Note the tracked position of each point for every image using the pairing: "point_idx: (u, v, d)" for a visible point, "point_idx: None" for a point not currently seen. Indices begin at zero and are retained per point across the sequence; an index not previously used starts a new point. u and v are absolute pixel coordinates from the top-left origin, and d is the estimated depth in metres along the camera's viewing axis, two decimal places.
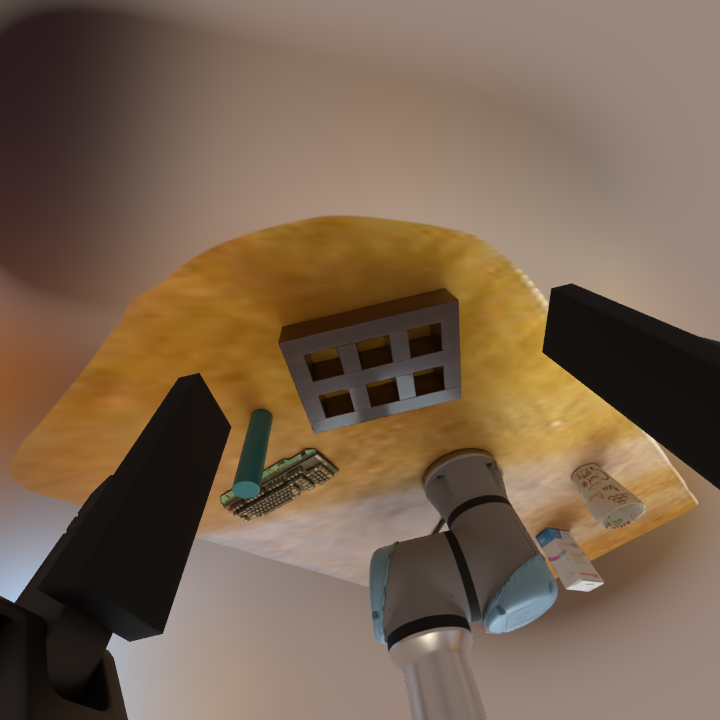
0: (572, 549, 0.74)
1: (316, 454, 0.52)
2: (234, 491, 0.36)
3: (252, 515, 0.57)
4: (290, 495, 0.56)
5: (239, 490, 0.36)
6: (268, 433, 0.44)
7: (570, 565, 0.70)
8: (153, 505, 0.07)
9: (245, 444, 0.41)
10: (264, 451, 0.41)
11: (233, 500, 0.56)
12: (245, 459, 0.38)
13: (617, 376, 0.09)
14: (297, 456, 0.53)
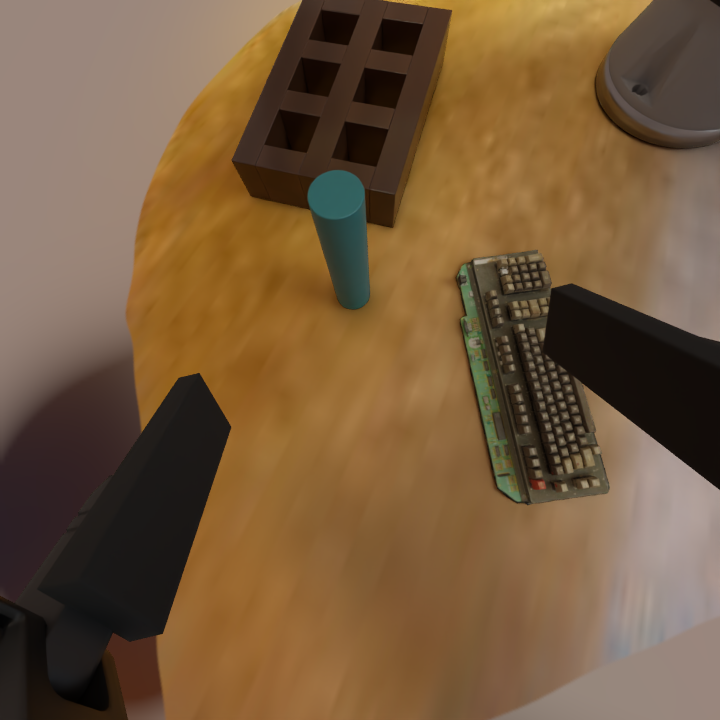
0: None
1: (473, 262, 0.29)
2: (324, 213, 0.17)
3: (584, 457, 0.24)
4: None
5: (328, 203, 0.17)
6: None
7: None
8: (153, 505, 0.07)
9: None
10: None
11: (521, 471, 0.25)
12: None
13: (617, 376, 0.09)
14: (464, 296, 0.29)
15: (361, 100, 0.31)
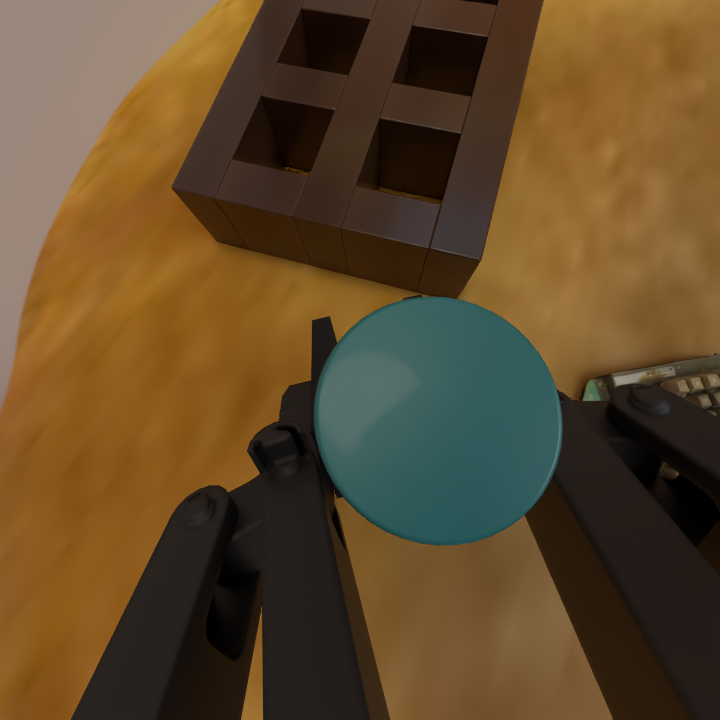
0: None
1: (611, 379, 0.16)
2: (389, 509, 0.04)
3: None
4: None
5: (404, 460, 0.04)
6: None
7: None
8: None
9: None
10: None
11: None
12: None
13: None
14: None
15: (402, 84, 0.19)
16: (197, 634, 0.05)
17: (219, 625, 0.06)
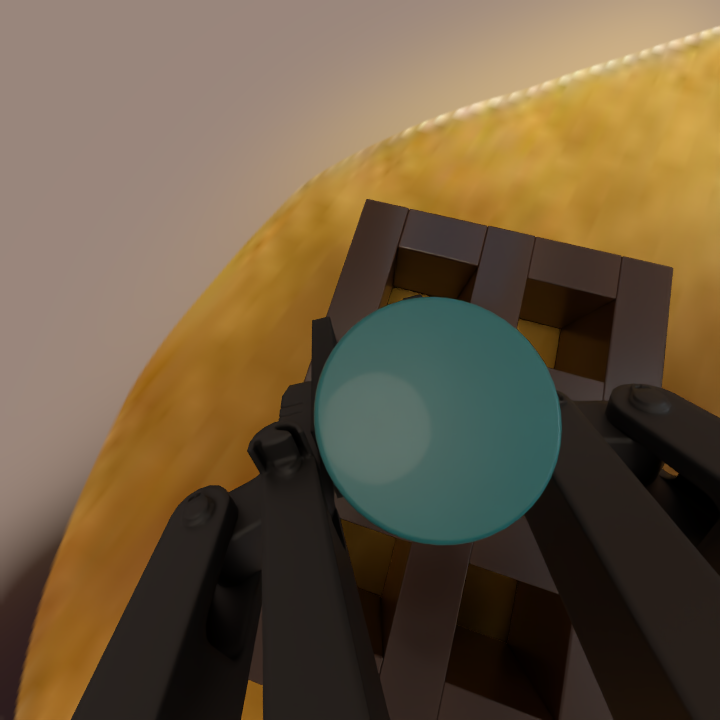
0: None
1: None
2: (389, 508, 0.04)
3: None
4: None
5: (404, 459, 0.04)
6: None
7: None
8: None
9: None
10: None
11: None
12: None
13: None
14: None
15: None
16: (197, 634, 0.05)
17: (219, 625, 0.06)
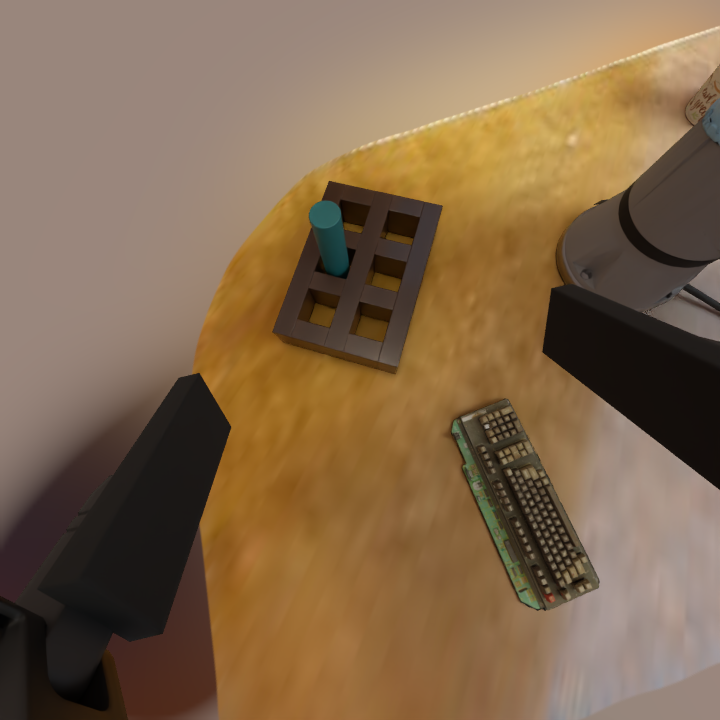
0: None
1: (461, 419, 0.37)
2: (318, 224, 0.30)
3: (576, 568, 0.32)
4: (537, 483, 0.34)
5: (320, 219, 0.30)
6: None
7: None
8: (153, 506, 0.07)
9: None
10: None
11: (534, 585, 0.33)
12: None
13: (617, 376, 0.09)
14: (461, 447, 0.37)
15: (371, 272, 0.40)
16: None
17: None
